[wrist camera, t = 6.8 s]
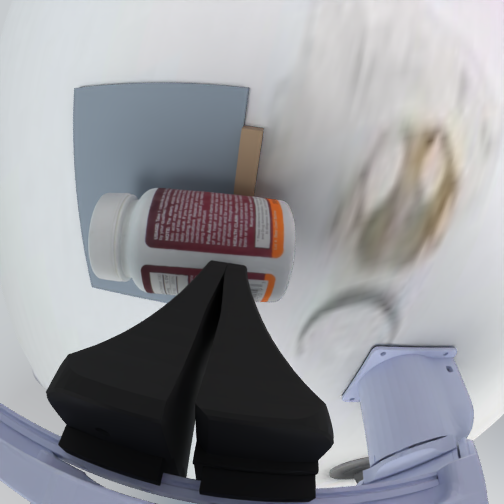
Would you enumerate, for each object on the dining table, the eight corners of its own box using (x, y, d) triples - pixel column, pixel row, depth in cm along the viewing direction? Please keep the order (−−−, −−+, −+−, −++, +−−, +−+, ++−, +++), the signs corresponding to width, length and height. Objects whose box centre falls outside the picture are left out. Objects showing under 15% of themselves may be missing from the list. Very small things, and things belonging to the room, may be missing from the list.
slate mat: (269, 90, 13) (269, 90, 12) (237, 309, 20) (235, 321, 19) (79, 87, 13) (67, 88, 12) (94, 283, 20) (87, 292, 19)
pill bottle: (278, 198, 16) (121, 183, 14) (304, 205, 11) (85, 185, 10) (266, 283, 17) (117, 269, 15) (285, 321, 12) (85, 302, 11)
